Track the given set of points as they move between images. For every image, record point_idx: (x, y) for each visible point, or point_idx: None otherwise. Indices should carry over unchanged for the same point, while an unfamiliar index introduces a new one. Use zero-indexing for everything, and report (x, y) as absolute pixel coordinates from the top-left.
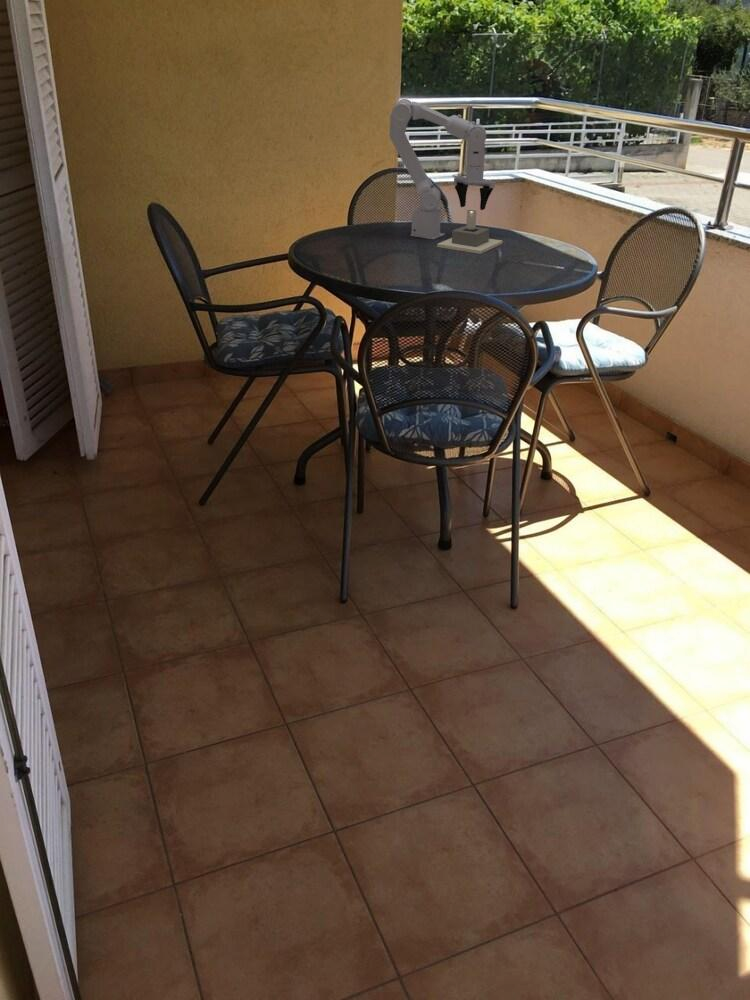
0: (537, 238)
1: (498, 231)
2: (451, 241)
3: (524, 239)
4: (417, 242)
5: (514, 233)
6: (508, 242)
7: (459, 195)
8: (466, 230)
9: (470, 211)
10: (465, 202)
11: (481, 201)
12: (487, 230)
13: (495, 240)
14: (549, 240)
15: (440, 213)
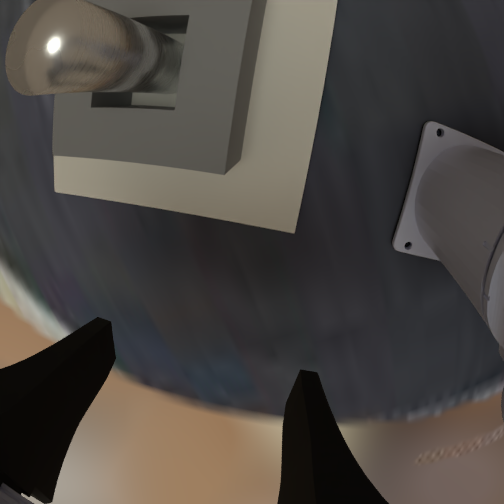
0: (36, 319)
1: (178, 379)
2: (283, 31)
3: (51, 296)
4: (476, 49)
5: (118, 364)
6: (63, 231)
7: (336, 456)
8: (162, 35)
9: (45, 12)
10: (283, 428)
11: (57, 356)
12: (55, 128)
13: (76, 177)
14: (8, 304)
15: (470, 266)
